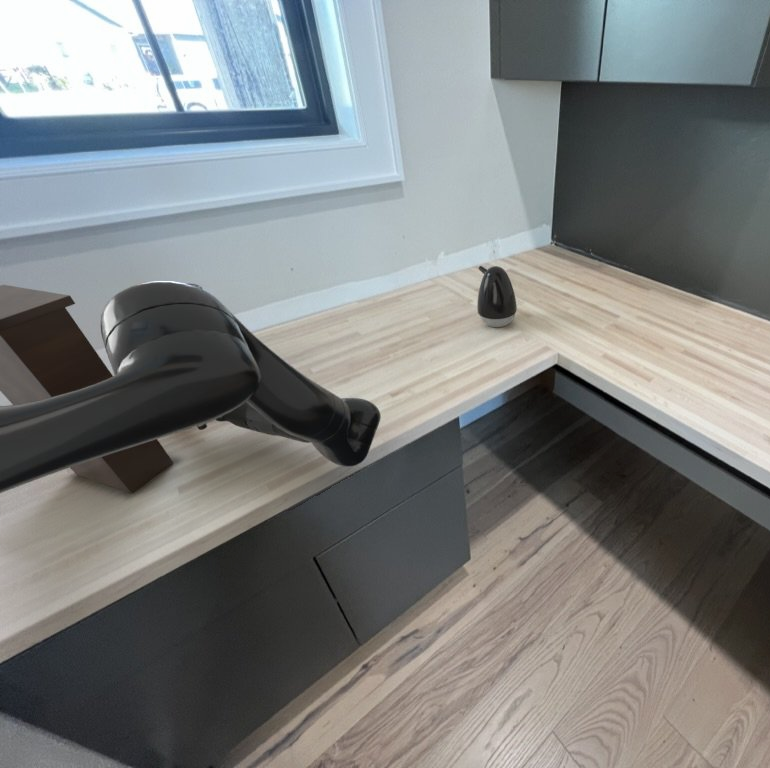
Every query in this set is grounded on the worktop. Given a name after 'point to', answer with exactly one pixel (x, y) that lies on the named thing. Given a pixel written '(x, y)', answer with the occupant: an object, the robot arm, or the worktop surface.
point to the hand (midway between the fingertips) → (190, 390)
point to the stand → (63, 375)
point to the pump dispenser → (496, 297)
